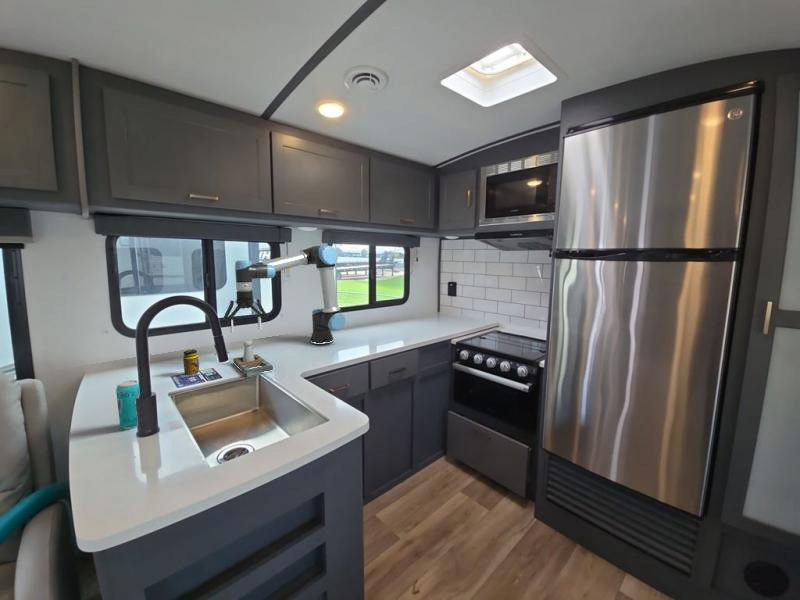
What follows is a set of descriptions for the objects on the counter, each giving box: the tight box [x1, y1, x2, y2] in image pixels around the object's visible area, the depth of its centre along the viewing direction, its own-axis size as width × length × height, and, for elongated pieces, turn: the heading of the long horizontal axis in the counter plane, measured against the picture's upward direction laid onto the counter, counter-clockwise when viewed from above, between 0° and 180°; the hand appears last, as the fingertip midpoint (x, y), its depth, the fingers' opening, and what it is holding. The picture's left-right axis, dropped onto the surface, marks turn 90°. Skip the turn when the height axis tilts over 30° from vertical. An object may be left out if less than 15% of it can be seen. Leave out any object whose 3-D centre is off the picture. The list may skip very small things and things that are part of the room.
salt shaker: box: [242, 339, 255, 362], centre depth 168 cm, size 6×6×13 cm
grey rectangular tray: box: [232, 353, 274, 378], centre depth 164 cm, size 26×12×3 cm, turn 41°
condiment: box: [182, 349, 200, 375], centre depth 153 cm, size 7×8×12 cm
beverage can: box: [115, 380, 140, 430], centre depth 105 cm, size 6×6×15 cm
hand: (246, 330), depth 166 cm, fingers open, 13 cm apart
